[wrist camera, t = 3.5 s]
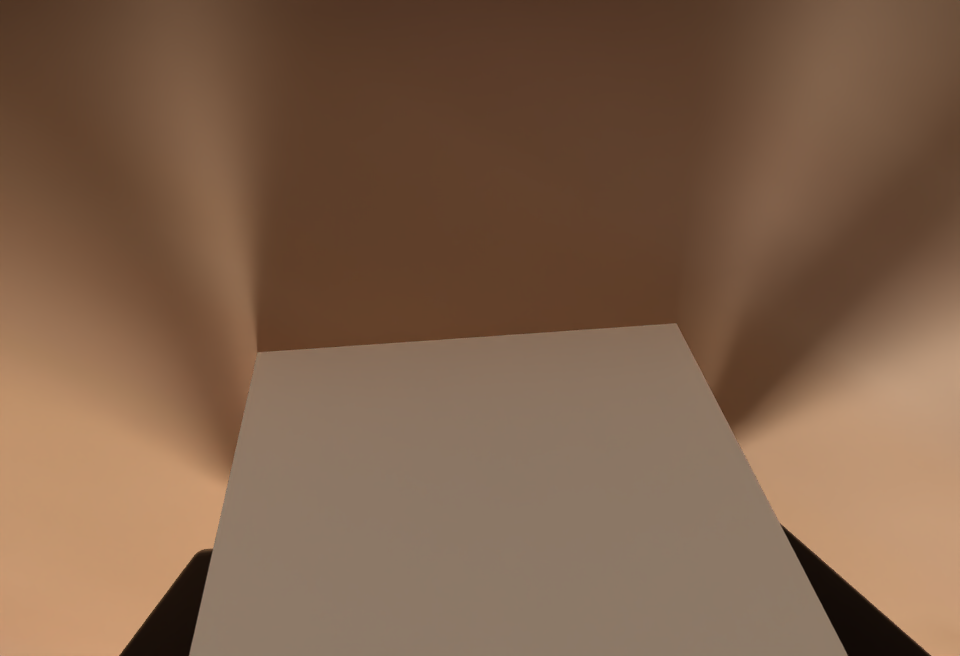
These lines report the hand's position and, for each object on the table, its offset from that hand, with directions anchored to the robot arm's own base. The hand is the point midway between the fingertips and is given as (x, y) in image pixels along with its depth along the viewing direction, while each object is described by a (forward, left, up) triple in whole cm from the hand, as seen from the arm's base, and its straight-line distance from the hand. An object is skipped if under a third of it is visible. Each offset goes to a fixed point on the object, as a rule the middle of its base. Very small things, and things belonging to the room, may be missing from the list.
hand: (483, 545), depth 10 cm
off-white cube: (0, 0, -1) cm, 1 cm away
